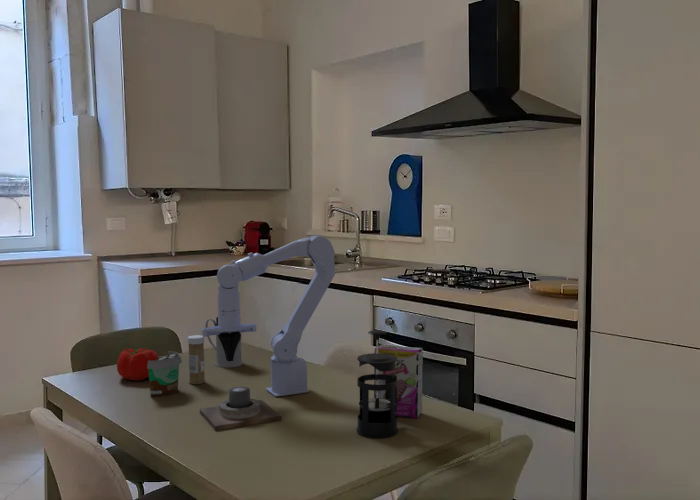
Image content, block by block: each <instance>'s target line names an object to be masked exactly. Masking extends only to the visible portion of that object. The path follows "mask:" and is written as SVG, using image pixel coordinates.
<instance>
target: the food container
mask: <svg viewBox="0 0 700 500" xmlns="http://www.w3.org/2000/svg"><path fill="white" fill-rule="evenodd" d="M158 357H159V358H158V359H156V360H155V361H148V364H147V369H148V370H149V378H148V379H149V391H150V394H149V395H150V397H151V398H159V397H161V398H162V397H167V396H172V395H175V394H176V393H178V390H179V389H178V388H179V375H180V372H179V371H180V364H182V362H183V361H182V358H181V355H180V353H179V352H176V351H174V350H173V351H171V350H168V351H167V354H166V355H164V356H158Z"/></svg>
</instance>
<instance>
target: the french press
mask: <svg viewBox="0 0 700 500" xmlns="http://www.w3.org/2000/svg"><path fill="white" fill-rule="evenodd" d="M367 334H368V335H372V336H373V335H374V339H375V341H376V347H377V353H375V352H373V353H366V354H365V353H364V354H361V355H358V356H357V361H358V362H359V364H358V365H359V368H361V367H362V366H363V365H370V366H371V367H373V369H374V368H376V374H374V373H372V374H371V373H370V374H364V375H360V376H359V377H358V378H357V387H358V388H359V402H358V405H359V414H358V415H357V427H356V433H357V434H358V435H359V436H362V437H364V438H369V439H387V438H391V437H394V436H396V435H397V434H398V433H399V428H398V416H396V415H395V413H396V412H397V376H396V375H392V374H389V375H385V374H378V370H379V371H382V372H385V371H391V370H393V369H395V362H396V361H397V357H396V356H393V355H390V354H381V353H378V346H379V341H380V336H381V335H386V334H387V331H385V330H383V329H381V330H380V329H373V330H369V331H368V332H367ZM373 380H376V385H374V383H373V384H371V383H366V381H373ZM378 380H385V384H382V385H378ZM383 390H385V398H378V391H383ZM369 391H376V398H374V397H370V394H369Z"/></svg>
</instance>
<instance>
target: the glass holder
mask: <svg viewBox="0 0 700 500" xmlns="http://www.w3.org/2000/svg"><path fill="white" fill-rule="evenodd" d="M210 321H212V323H213V327H214V326H218V316H217V317H216V319H214V318H209V319H207V320H206V322H205V328H208V327H209V326H208V325H209V324H208V323H209V322H210ZM240 334H241V335H242V333H240ZM206 337H207V339H208V342H209V343H210V345H211V346H212V348H214V350H215V351H216V353H215V357H216V360H215V364H214V366H215V367H217V368H218V367H219V368H235V367H240V366H242V365H243V364H244V361H243V360H242V338H241V339H240V341H239V343H238V345H237V347H236V350H235V354H234V359H233V361H227V360H226V356H225V352H224V349H223V346H222V344H221V342H220V340H219V338H218V335H215V340H216V341H215V344H214V343H213V341H212V339H211V336H206Z"/></svg>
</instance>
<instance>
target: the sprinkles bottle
mask: <svg viewBox="0 0 700 500" xmlns="http://www.w3.org/2000/svg"><path fill="white" fill-rule="evenodd" d="M187 344H188V372H189V376H188V377H189V381H188V383H189V384H190V385H202V384H204V383H205V382H206V379H205V378H206V377H205V375H206V374H205V349H204V348H205V347H204V345H205V337H203V336H202V335H201V334H194V335H189V336H188V337H187Z"/></svg>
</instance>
